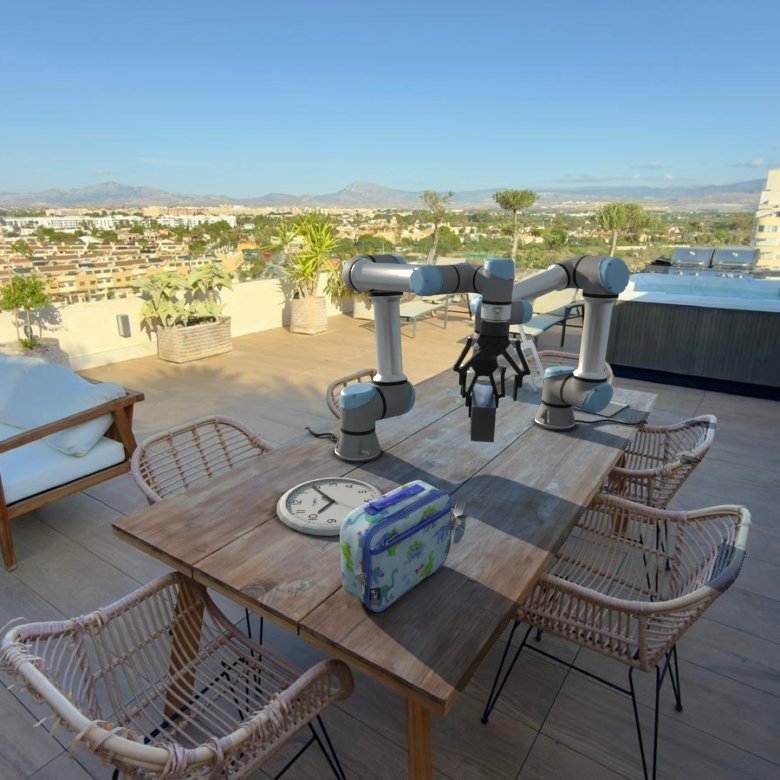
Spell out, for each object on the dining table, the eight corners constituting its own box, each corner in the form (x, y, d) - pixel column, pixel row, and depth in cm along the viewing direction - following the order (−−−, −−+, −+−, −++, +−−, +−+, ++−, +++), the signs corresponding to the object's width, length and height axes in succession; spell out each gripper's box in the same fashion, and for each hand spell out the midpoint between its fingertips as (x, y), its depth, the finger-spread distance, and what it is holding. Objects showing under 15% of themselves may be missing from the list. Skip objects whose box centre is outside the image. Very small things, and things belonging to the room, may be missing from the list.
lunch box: (369, 626, 100) (370, 530, 93) (334, 598, 107) (332, 507, 101) (455, 567, 117) (460, 483, 111) (419, 547, 124) (423, 467, 118)
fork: (441, 537, 129) (441, 530, 128) (456, 506, 143) (456, 499, 142) (451, 539, 128) (452, 532, 127) (465, 508, 142) (466, 501, 142)
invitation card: (608, 416, 214) (573, 407, 224) (608, 416, 214) (573, 408, 224) (628, 404, 229) (594, 396, 238) (628, 405, 229) (594, 397, 238)
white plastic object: (482, 420, 263) (461, 397, 239) (463, 347, 285) (443, 319, 261) (554, 396, 251) (539, 370, 226) (528, 322, 273) (513, 290, 249)
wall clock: (392, 527, 129) (268, 531, 127) (391, 533, 130) (269, 537, 127) (383, 473, 158) (282, 475, 155) (383, 478, 158) (282, 480, 156)
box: (470, 415, 171) (472, 384, 168) (490, 416, 170) (493, 385, 167) (470, 441, 151) (472, 406, 148) (493, 442, 150) (496, 408, 147)
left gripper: (446, 320, 133) (442, 399, 139) (547, 324, 130) (538, 404, 136) (446, 315, 140) (442, 391, 146) (542, 319, 137) (533, 396, 144)
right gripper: (453, 347, 158) (449, 419, 165) (519, 350, 156) (512, 422, 163) (453, 342, 165) (450, 411, 172) (517, 345, 163) (511, 414, 170)
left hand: (488, 398), depth 141 cm, fingers open, 13 cm apart
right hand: (480, 416), depth 167 cm, fingers closed on box, 7 cm apart
